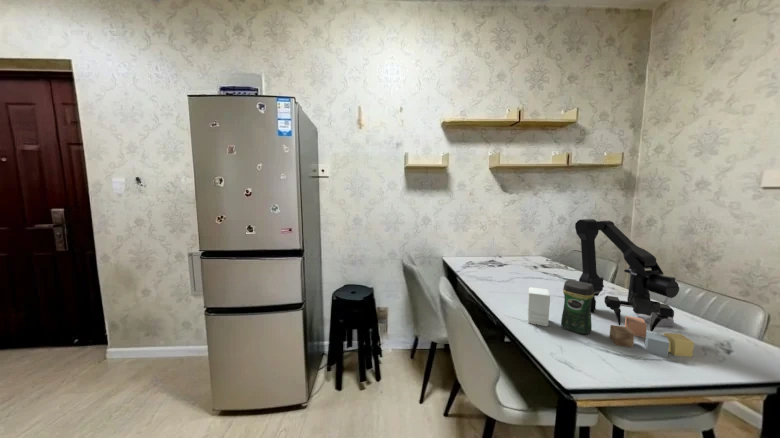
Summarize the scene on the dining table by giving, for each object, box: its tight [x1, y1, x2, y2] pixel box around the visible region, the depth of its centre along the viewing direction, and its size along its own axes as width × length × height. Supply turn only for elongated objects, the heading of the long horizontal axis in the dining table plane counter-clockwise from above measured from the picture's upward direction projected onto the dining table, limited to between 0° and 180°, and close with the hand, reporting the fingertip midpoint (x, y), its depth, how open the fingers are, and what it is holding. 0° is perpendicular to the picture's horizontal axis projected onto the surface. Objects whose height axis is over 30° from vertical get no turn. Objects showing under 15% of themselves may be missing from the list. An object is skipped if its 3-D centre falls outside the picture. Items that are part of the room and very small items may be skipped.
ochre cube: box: [663, 332, 695, 358], centre depth 94 cm, size 5×5×5 cm
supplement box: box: [526, 286, 551, 327], centre depth 115 cm, size 7×7×13 cm
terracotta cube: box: [624, 315, 648, 338], centre depth 106 cm, size 5×5×5 cm
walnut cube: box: [609, 324, 635, 349], centre depth 100 cm, size 5×5×5 cm
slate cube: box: [644, 331, 669, 358], centre depth 95 cm, size 5×5×5 cm
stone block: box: [634, 312, 675, 328], centre depth 117 cm, size 12×5×10 cm
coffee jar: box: [560, 279, 595, 335], centre depth 108 cm, size 10×8×19 cm
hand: (634, 327), depth 107 cm, fingers open, 9 cm apart
